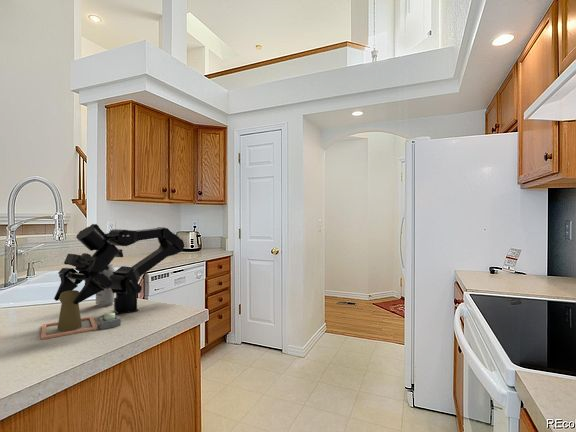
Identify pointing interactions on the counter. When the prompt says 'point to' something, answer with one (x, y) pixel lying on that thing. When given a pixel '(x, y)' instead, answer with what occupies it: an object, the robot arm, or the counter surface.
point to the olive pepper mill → (69, 312)
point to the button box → (109, 322)
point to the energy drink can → (106, 291)
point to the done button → (109, 316)
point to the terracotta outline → (44, 336)
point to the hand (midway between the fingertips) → (64, 301)
